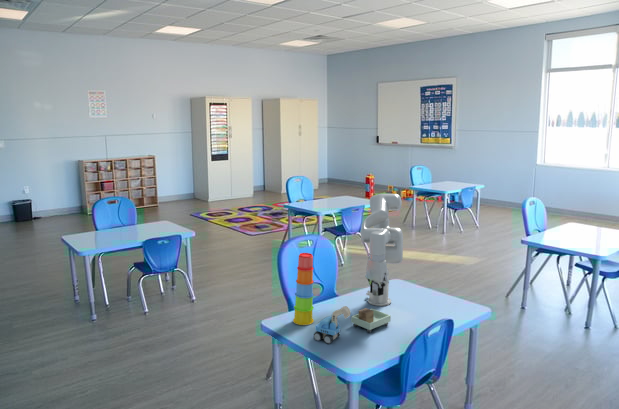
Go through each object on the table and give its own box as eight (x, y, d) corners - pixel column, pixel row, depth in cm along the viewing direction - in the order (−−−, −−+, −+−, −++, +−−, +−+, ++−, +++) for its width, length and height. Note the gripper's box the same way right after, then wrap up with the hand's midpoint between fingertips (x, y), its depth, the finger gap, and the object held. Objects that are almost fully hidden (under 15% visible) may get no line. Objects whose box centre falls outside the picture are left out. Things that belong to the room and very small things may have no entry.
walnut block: (358, 322, 240) (358, 310, 239) (365, 319, 244) (365, 308, 243) (366, 325, 237) (366, 313, 236) (373, 322, 240) (373, 311, 239)
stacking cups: (301, 315, 256) (300, 250, 250) (317, 320, 250) (317, 253, 244) (288, 322, 247) (287, 255, 241) (305, 327, 242) (304, 258, 236)
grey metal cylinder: (370, 294, 243) (370, 282, 242) (376, 292, 246) (376, 280, 245) (377, 296, 240) (377, 284, 239) (383, 294, 242) (383, 282, 241)
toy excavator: (344, 348, 220) (344, 311, 217) (311, 339, 228) (311, 304, 225) (352, 341, 227) (353, 305, 224) (321, 333, 235) (321, 298, 232)
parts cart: (351, 326, 242) (351, 316, 242) (371, 318, 252) (372, 308, 251) (369, 334, 234) (369, 323, 233) (390, 325, 243) (390, 315, 242)
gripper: (359, 255, 243) (358, 291, 247) (385, 262, 231) (385, 300, 234) (369, 252, 248) (369, 287, 251) (396, 259, 236) (395, 296, 239)
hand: (376, 293), depth 243 cm, fingers closed on grey metal cylinder, 4 cm apart
